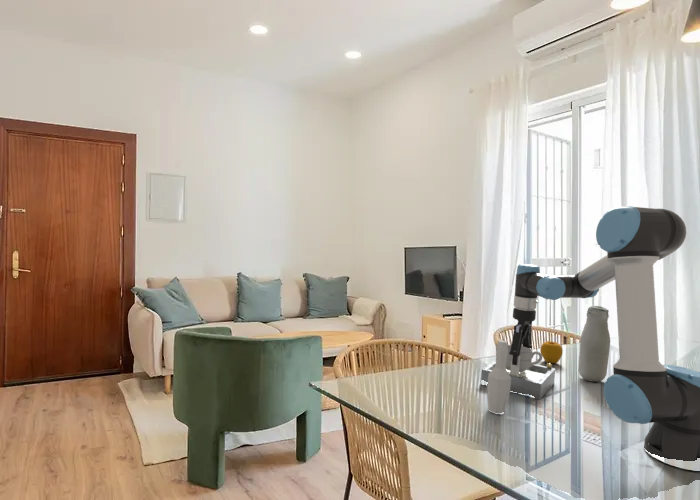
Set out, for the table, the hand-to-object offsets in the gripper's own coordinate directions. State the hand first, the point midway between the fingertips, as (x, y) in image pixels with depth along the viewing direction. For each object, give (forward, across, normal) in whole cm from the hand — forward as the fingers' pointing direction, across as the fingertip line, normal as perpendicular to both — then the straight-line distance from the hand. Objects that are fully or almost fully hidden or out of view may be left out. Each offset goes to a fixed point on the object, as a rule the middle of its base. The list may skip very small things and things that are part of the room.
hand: (519, 369), depth 174 cm
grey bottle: (+6, +24, -20) cm, 32 cm away
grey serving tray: (+5, 0, 0) cm, 5 cm away
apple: (+6, +35, -3) cm, 36 cm away
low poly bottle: (+6, -29, -2) cm, 30 cm away
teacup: (+1, 0, 0) cm, 1 cm away
